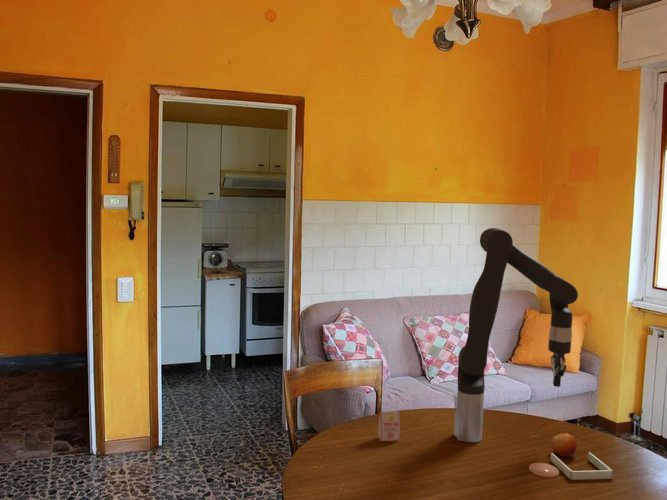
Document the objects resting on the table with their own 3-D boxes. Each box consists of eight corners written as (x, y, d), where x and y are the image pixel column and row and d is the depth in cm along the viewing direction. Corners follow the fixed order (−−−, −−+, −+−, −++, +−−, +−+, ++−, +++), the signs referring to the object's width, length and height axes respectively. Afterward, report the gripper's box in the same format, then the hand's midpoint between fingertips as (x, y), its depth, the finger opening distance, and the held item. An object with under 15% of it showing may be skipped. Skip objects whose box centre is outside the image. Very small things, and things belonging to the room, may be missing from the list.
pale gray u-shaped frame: (570, 479, 189) (571, 471, 189) (550, 460, 203) (550, 453, 203) (612, 478, 191) (613, 470, 191) (589, 459, 204) (590, 452, 204)
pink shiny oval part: (536, 477, 190) (536, 476, 190) (524, 464, 199) (524, 463, 199) (564, 477, 191) (564, 475, 191) (550, 464, 200) (551, 462, 200)
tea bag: (378, 437, 218) (378, 410, 217) (396, 436, 219) (397, 409, 218) (380, 441, 214) (381, 413, 213) (399, 441, 215) (400, 413, 214)
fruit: (584, 456, 203) (572, 435, 203) (561, 466, 205) (550, 445, 205) (579, 447, 211) (568, 426, 211) (558, 456, 213) (546, 435, 213)
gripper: (545, 333, 226) (541, 379, 228) (553, 342, 213) (549, 391, 215) (566, 335, 225) (562, 381, 227) (576, 343, 212) (572, 392, 214)
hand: (556, 385), depth 221 cm, fingers closed
